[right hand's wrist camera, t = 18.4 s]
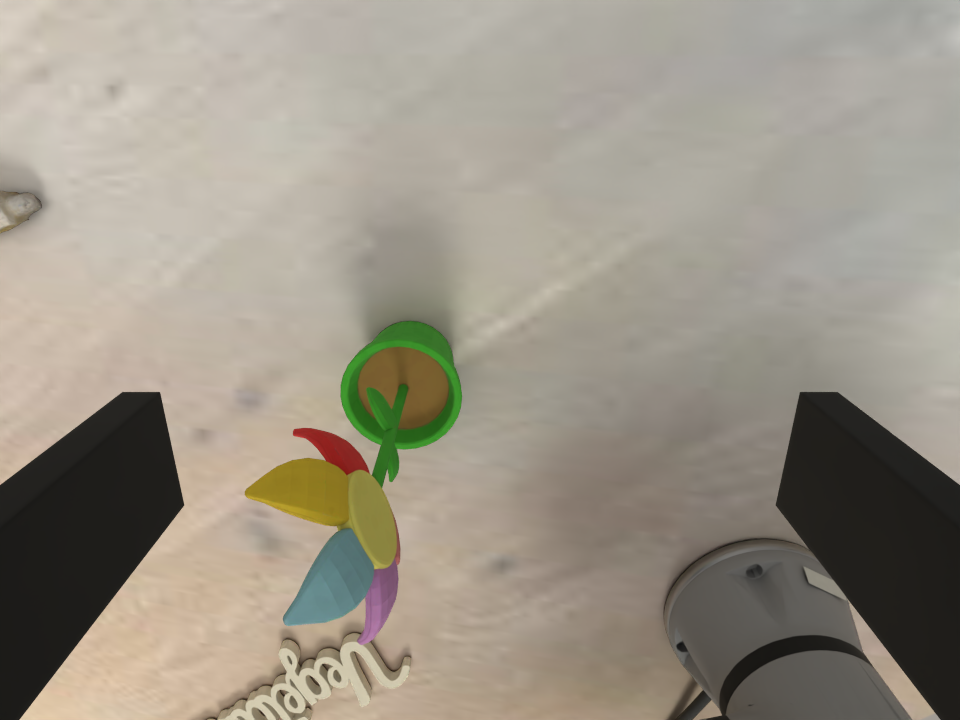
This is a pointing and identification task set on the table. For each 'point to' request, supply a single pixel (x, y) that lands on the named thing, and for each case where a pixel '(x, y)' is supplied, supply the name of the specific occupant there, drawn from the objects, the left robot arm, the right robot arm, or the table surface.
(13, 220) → the syringe
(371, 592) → the potted flower
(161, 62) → the table surface
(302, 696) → the decorative sign
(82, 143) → the table surface
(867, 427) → the right robot arm
